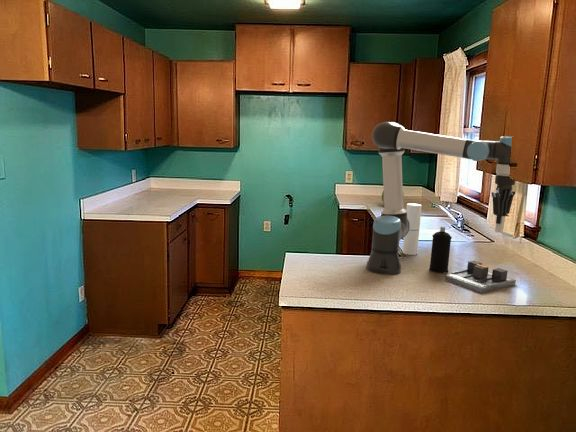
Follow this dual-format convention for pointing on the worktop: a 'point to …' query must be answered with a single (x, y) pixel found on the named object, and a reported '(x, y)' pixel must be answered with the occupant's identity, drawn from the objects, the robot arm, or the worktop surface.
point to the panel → (481, 285)
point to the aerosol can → (440, 251)
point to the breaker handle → (480, 271)
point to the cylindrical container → (412, 229)
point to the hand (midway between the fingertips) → (499, 231)
